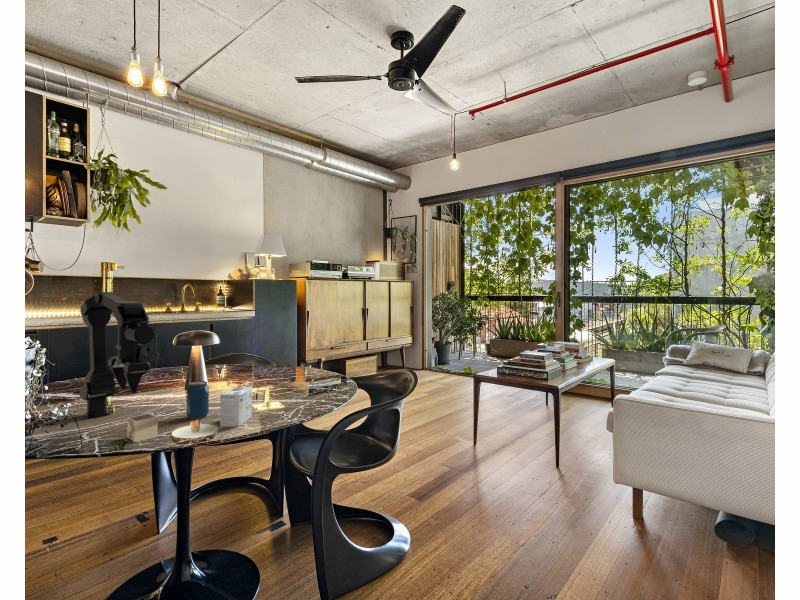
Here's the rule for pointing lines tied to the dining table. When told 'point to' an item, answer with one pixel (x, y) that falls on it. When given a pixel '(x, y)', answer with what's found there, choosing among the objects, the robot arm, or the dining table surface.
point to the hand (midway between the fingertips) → (128, 390)
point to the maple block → (142, 427)
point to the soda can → (197, 400)
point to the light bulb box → (235, 406)
